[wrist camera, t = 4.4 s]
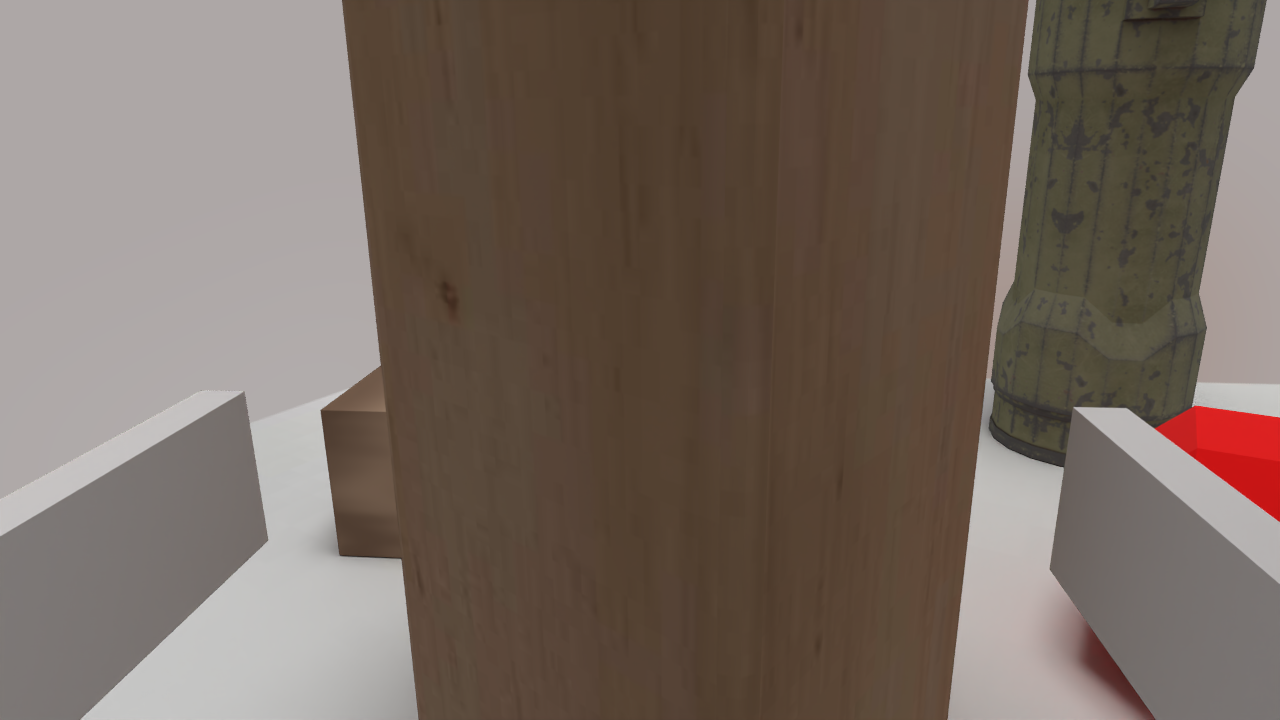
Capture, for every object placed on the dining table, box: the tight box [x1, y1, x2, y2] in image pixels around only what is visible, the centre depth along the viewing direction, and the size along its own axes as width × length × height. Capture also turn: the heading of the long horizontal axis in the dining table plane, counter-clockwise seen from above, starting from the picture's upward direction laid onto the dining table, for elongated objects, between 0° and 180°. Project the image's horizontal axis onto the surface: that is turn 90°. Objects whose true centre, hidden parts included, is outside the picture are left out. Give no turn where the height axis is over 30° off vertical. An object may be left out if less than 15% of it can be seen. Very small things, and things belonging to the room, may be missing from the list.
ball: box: [1155, 406, 1280, 522], centre depth 24 cm, size 8×8×8 cm
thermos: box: [989, 0, 1267, 467], centre depth 38 cm, size 9×12×35 cm
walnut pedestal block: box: [321, 366, 401, 558], centre depth 37 cm, size 13×13×6 cm
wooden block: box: [342, 0, 1029, 720], centre depth 19 cm, size 10×10×20 cm
